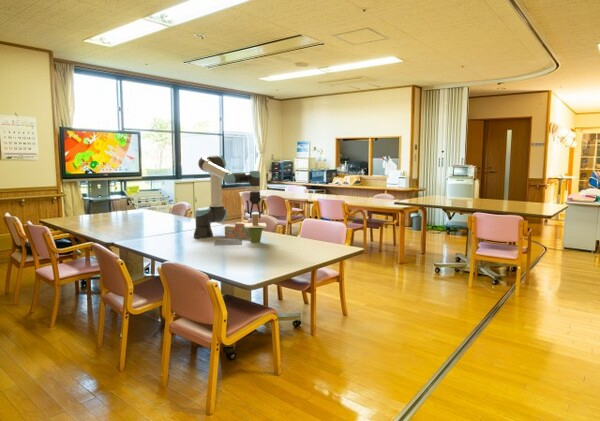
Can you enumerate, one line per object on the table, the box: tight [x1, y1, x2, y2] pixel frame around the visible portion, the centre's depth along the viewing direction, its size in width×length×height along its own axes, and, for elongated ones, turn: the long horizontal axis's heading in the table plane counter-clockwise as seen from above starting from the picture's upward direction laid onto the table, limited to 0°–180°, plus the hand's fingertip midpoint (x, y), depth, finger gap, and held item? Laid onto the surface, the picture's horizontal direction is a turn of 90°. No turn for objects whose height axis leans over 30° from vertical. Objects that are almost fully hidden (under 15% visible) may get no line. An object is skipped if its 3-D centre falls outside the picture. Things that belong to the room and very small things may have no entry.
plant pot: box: [248, 228, 264, 244], centre depth 307 cm, size 12×12×11 cm
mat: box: [213, 238, 243, 247], centre depth 305 cm, size 20×20×1 cm
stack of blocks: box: [224, 221, 250, 239], centre depth 325 cm, size 21×6×12 cm, turn 76°
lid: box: [245, 213, 267, 229], centre depth 306 cm, size 16×16×9 cm
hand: (255, 222), depth 306 cm, fingers open, 4 cm apart
